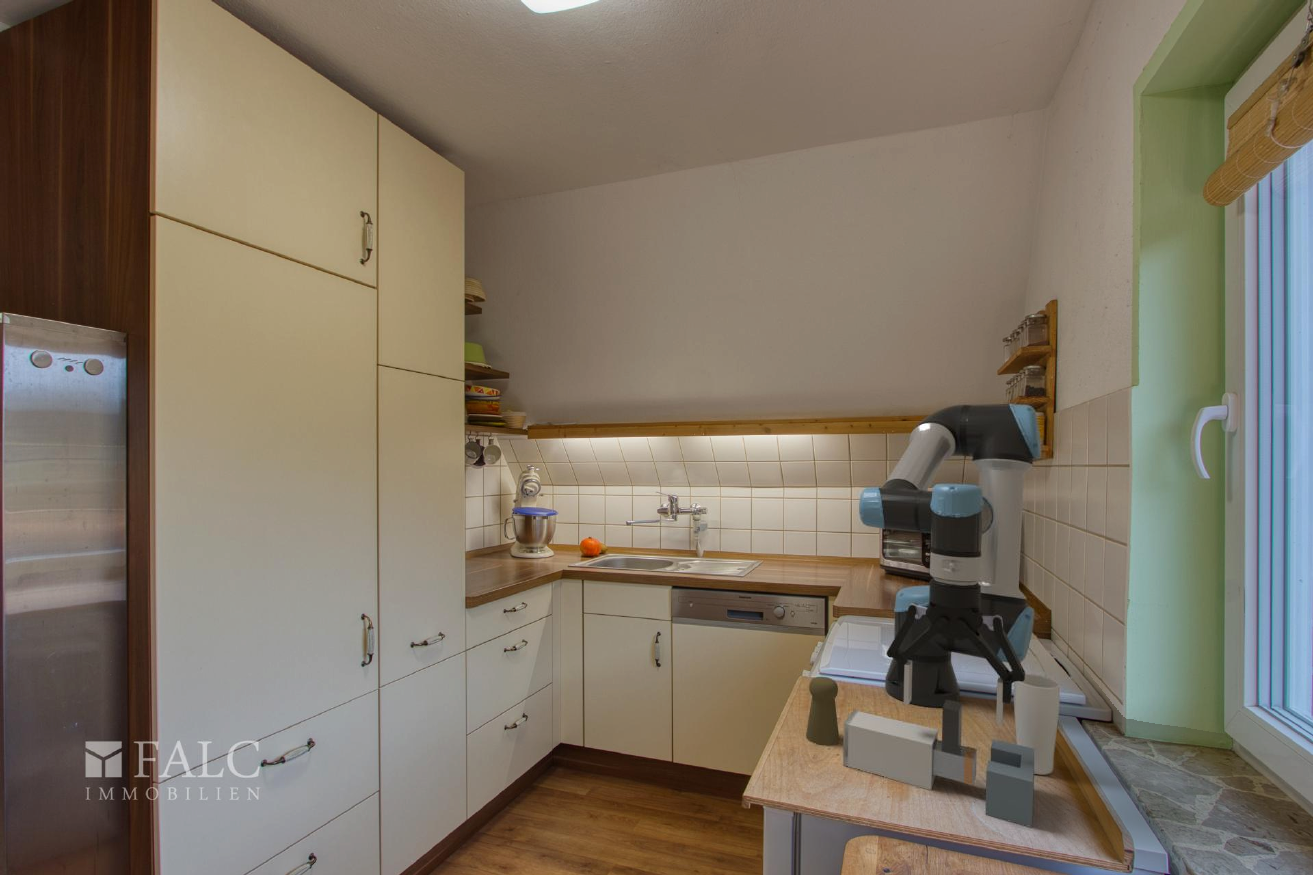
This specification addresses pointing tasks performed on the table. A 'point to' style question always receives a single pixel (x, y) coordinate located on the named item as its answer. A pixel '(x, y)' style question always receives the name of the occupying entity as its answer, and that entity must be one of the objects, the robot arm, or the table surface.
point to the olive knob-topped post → (823, 712)
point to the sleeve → (889, 748)
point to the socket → (1010, 782)
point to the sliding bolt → (953, 748)
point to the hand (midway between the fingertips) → (952, 711)
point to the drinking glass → (1037, 718)
